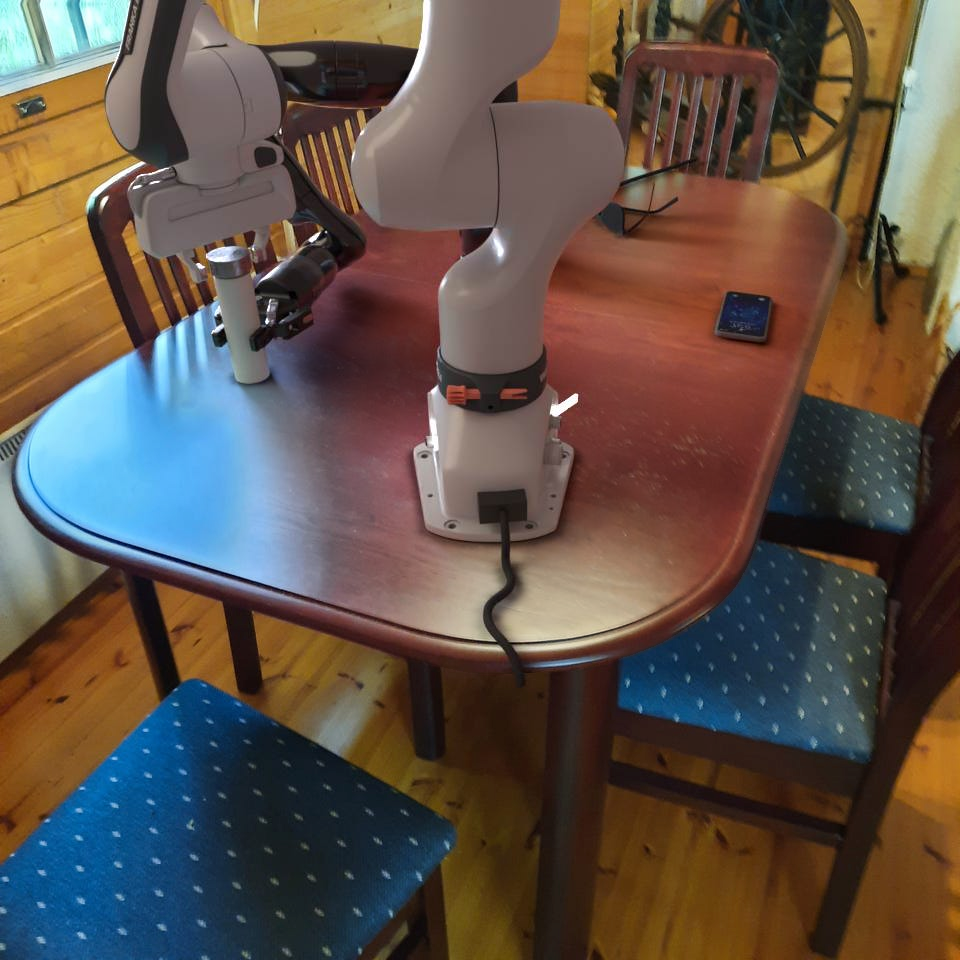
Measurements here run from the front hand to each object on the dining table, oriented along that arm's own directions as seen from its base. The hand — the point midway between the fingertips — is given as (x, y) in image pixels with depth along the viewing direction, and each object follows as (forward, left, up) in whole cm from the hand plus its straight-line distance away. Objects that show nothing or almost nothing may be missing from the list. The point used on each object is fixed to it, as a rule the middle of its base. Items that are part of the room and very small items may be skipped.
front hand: (230, 270), depth 109 cm
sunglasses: (+60, -59, -15) cm, 85 cm away
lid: (0, 0, +2) cm, 2 cm away
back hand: (-2, +1, -9) cm, 9 cm away
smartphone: (+16, -70, -15) cm, 74 cm away
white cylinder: (0, 0, -15) cm, 15 cm away
